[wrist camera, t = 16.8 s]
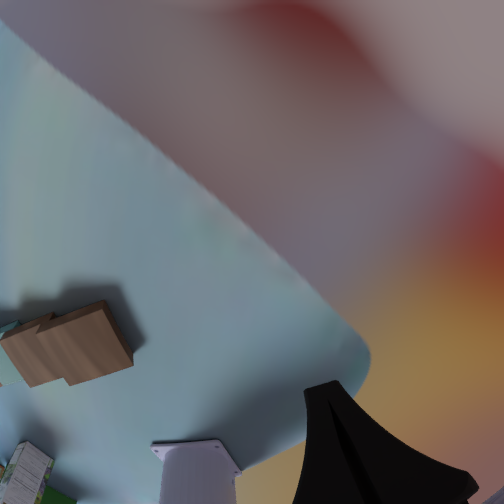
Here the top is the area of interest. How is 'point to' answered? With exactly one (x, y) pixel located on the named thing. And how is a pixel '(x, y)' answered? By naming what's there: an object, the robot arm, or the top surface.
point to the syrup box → (25, 476)
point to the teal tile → (8, 361)
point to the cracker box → (1, 471)
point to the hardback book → (52, 496)
